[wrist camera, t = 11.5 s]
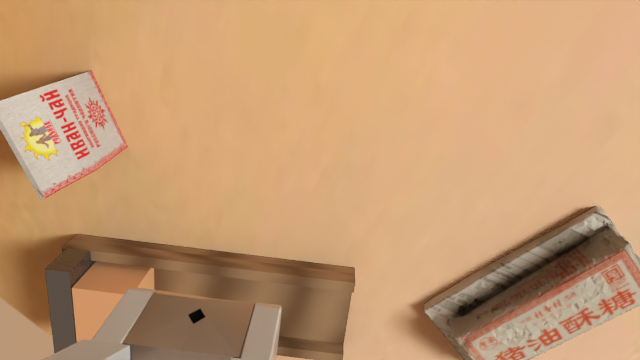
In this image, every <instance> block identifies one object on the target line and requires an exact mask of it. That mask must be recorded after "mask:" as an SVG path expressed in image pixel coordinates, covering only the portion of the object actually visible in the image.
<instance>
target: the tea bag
mask: <svg viewBox="0 0 640 360" xmlns="http://www.w3.org/2000/svg"><path fill="white" fill-rule="evenodd" d="M0 130H1V132H2V133H3V135H4V137H5V139H6V140H7V142H8V144H9V145H10V147H11V149H12V151H13V152H14V154H15V156H16V158H17V159H18V161H19V163H20V165H21V166H22V168H23V170H24V172H25V173H26V175H27V177H28V179H29V180H30V182H31V184H32V186H33V187H34V189H35V191H36V192H37V194H38V196H39V198H40V199H42V198H43V197H45V198H47V197H48V196H50V195H52V194H53V193H55V192H57V191H59V190H60V189H62V188H64V187H66V186H67V185H69V184H71V183H73V182H75V181H77V180H79V179H80V178H82V177H84V176H86V175H88V174H90V173H92V172H94V171H95V170H97V169H98V168H99V167H101V166H102V165H103V164H105V163H106V162H108V161H109V160H110V159H112V158H113V157H114V156H116V155H117V154H118V153H120V152H121V151H123V150H124V149H125V148H127V147H128V146H127V144H126V142H125V140H124V138H123V136H122V133H121V131H120V129H119V127H118V125H117V123H116V121H115V119H114V117H113V115H112V113H111V111H110V109H109V107H108V105H107V102H106V100H105V98H104V96H103V94H102V92H101V90H100V88H99V86H98V84H97V82H96V80H95V78H94V76H93V74H92V71H89V72H85V73H82V74H79V75H76V76H73V77H70V78H67V79H64V80H61V81H58V82H55V83H52V84H49V85H46V86H43V87H40V88H37V89H34V90H31V91H28V92H25V93H22V94H19V95H16V96H13V97H10V98H7V99H4V100H1V101H0Z"/></svg>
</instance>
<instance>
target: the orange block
mask: <svg viewBox="0 0 640 360" xmlns="http://www.w3.org/2000/svg"><path fill="white" fill-rule="evenodd" d="M132 287H137V288H145V289H153V290H154V268H149V267H141V266H132V265H124V264H116V263H108V262H100V261H96V262H95V263H94V264H93V265H92V266H91V267H90V268H89V269H88V271H87V272H86V273H85V274H84V275H83V276H82V277H81V278H80V279H79V280H78V282H77V283H76V284H75V285H74V286H73V287H72V296H73V307H74V318H75V329H76V340H77V342H79V341H81V340H83V339H84V340H92V338H93V337H94V336H95V334H96V333H97V331H98V330H99V329H100V327H101V326H102V325H103V323H104V322H105V320H106V319H107V318H108V316H109V315H110V313H111V312H112V311H113V309H114V308H115V307H116V305H117V304H118V302H119V301H120V300H121V298H122V297H123V295H124V294H125V293H126V291H127V290H128V289H130V288H132Z"/></svg>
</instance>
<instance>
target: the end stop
mask: <svg viewBox="0 0 640 360" xmlns="http://www.w3.org/2000/svg"><path fill="white" fill-rule="evenodd" d="M95 262H96V261H91V253H90V251H89V250H81V249H72V248H67V249H66V250H65V251H64V252H63V253H62V254H61V255H60V256H59V257H58V258H56V259H55V260H54V261H53V262H52V263H51V264H50V265H49V266H48V267H47V268H46V269H45V274H46V283H47V292H48V300H49V309H50V318H51V326H52V335H53V343H54V353H57V352H59V351H61V350H63V349H65V348H67V347H69V346H71V345H73V344H75V343H77V340H76V329H75V318H74V307H73V296H72V287H73V286H74V285H75V284H76V283H77V282H78V280H79V279H80V278H81V277H82V276H83V275H84V274H85V273H86V272H87V271H88V269H89V268H90V267H91V266H92V265H93V264H94V263H95Z"/></svg>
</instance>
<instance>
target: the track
mask: <svg viewBox="0 0 640 360" xmlns="http://www.w3.org/2000/svg"><path fill="white" fill-rule="evenodd" d="M67 248H72V249H81V250H89V251H90V253H91V261H100V262H108V263H116V264H124V265H132V266H141V267H149V268H154V290H157V291H158V290H161V291H168V292H174V293H181V294H188V295H195V296H202V297H207V298H213V299H222V300H230V301H239V302H247V303H255V304H256V303H265V304H276V305H281V307H282V311H281V322H280V331H279V340H278V349H277V355H281V356H289V357H297V358H305V359H314V360H343V343H344V337H345V331H346V324H347V318H348V312H349V306H350V300H351V294H352V292H353V293H354V287H355V268H352V267H344V266H336V265H327V264H319V263H311V262H303V261H295V260H286V259H278V258H270V257H262V256H254V255H246V254H237V253H229V252H221V251H213V250H205V249H196V248H188V247H180V246H172V245H164V244H156V243H147V242H139V241H131V240H123V239H115V238H106V237H98V236H90V235H82V234H76V235H75V236H74V237H73V238H72V239H71V240H69V241H68V242H67V243H66V244H65V245H64V246H63V247H62V251H63V252H64V251H65V250H66V249H67Z"/></svg>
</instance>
